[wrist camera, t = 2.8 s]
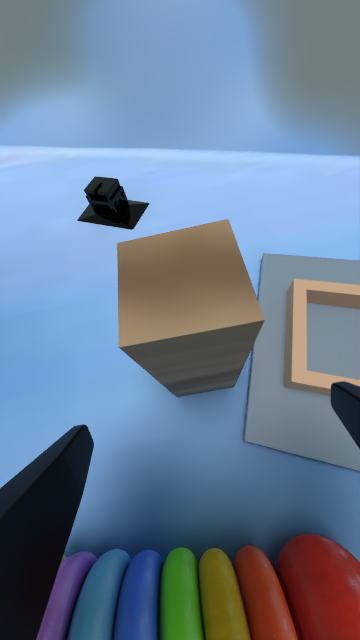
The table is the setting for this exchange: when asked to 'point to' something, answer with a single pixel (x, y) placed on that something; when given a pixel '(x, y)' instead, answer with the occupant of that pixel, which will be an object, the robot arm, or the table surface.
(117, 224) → the black block on base
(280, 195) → the table surface
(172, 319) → the walnut pillar
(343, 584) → the stacking toy
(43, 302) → the table surface
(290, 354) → the grey board with frame
